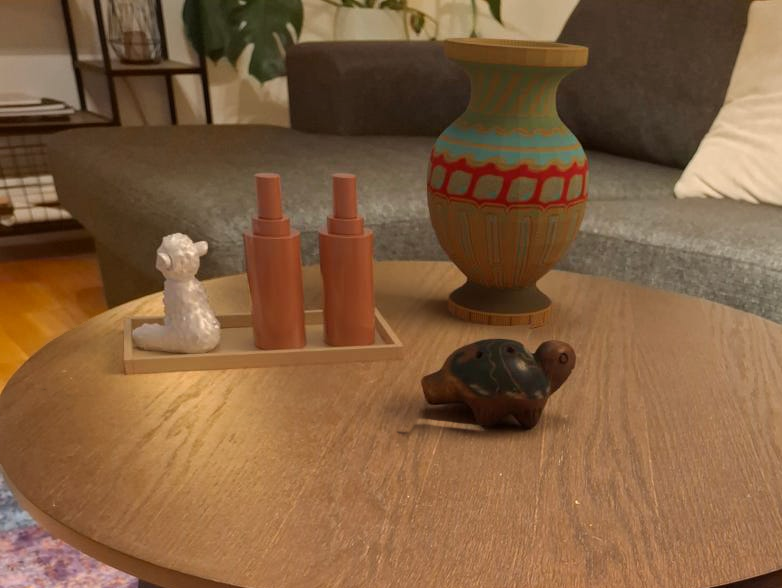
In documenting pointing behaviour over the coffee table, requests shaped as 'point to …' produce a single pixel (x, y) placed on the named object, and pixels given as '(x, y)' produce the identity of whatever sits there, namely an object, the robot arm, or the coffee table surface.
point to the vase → (508, 179)
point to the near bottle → (274, 271)
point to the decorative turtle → (501, 379)
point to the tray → (242, 353)
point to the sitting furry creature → (181, 302)
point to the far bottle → (346, 270)
